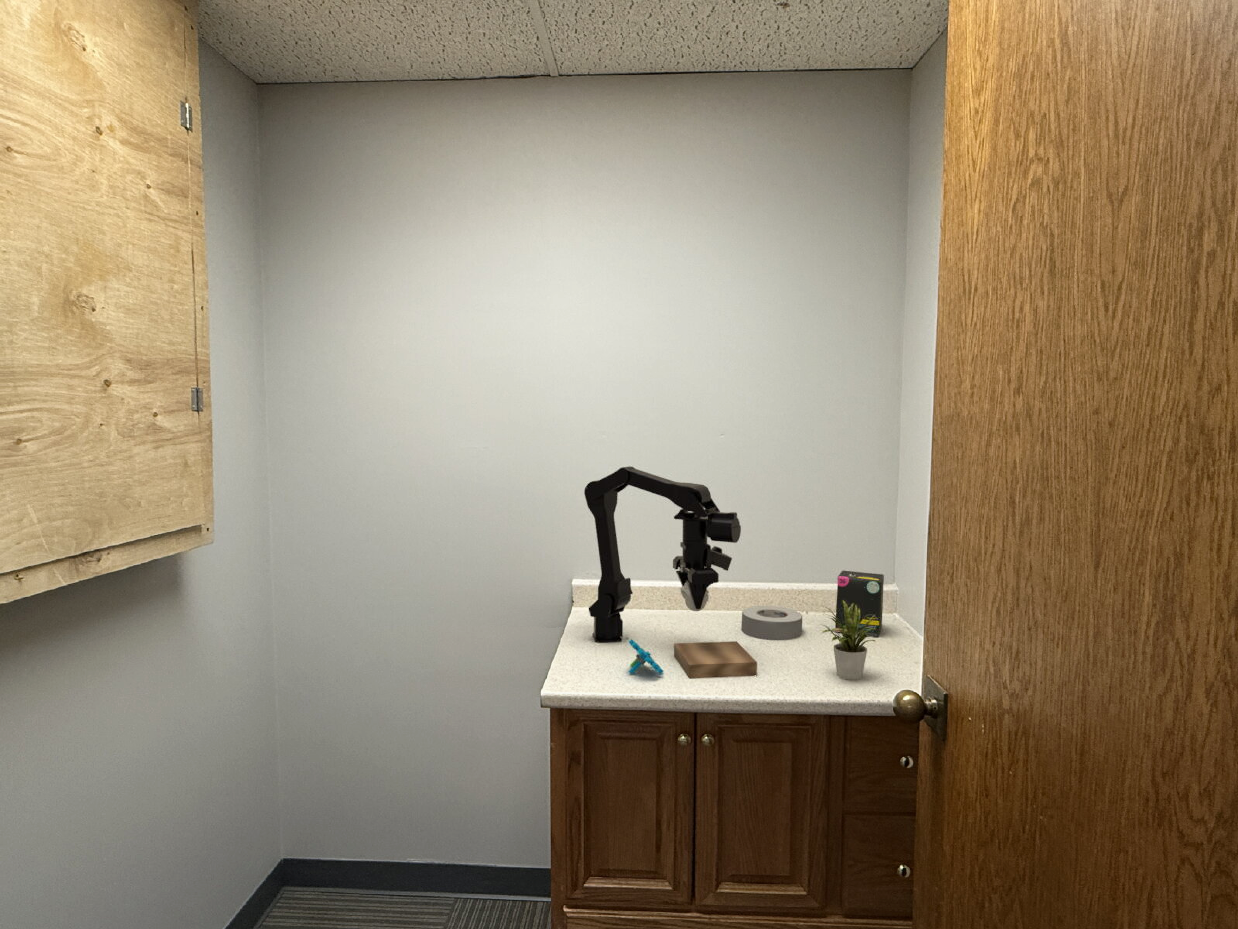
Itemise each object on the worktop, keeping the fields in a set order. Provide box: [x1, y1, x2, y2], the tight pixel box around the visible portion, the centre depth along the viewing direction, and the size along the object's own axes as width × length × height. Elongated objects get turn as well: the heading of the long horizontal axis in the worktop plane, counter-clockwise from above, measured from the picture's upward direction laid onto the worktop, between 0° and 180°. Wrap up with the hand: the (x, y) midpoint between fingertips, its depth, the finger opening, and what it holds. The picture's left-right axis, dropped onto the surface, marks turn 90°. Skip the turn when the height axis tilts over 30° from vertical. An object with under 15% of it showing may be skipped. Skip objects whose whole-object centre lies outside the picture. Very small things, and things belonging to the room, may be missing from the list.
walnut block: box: [673, 640, 758, 679], centre depth 179 cm, size 15×15×4 cm
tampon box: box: [834, 570, 885, 638], centre depth 207 cm, size 11×9×15 cm
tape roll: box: [741, 605, 803, 641], centre depth 206 cm, size 15×15×5 cm
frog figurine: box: [679, 582, 710, 612], centre depth 186 cm, size 6×7×7 cm
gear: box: [628, 638, 664, 675], centre depth 174 cm, size 11×6×10 cm
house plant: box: [819, 601, 876, 681], centre depth 174 cm, size 14×14×16 cm
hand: (694, 605), depth 187 cm, fingers closed on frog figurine, 6 cm apart
